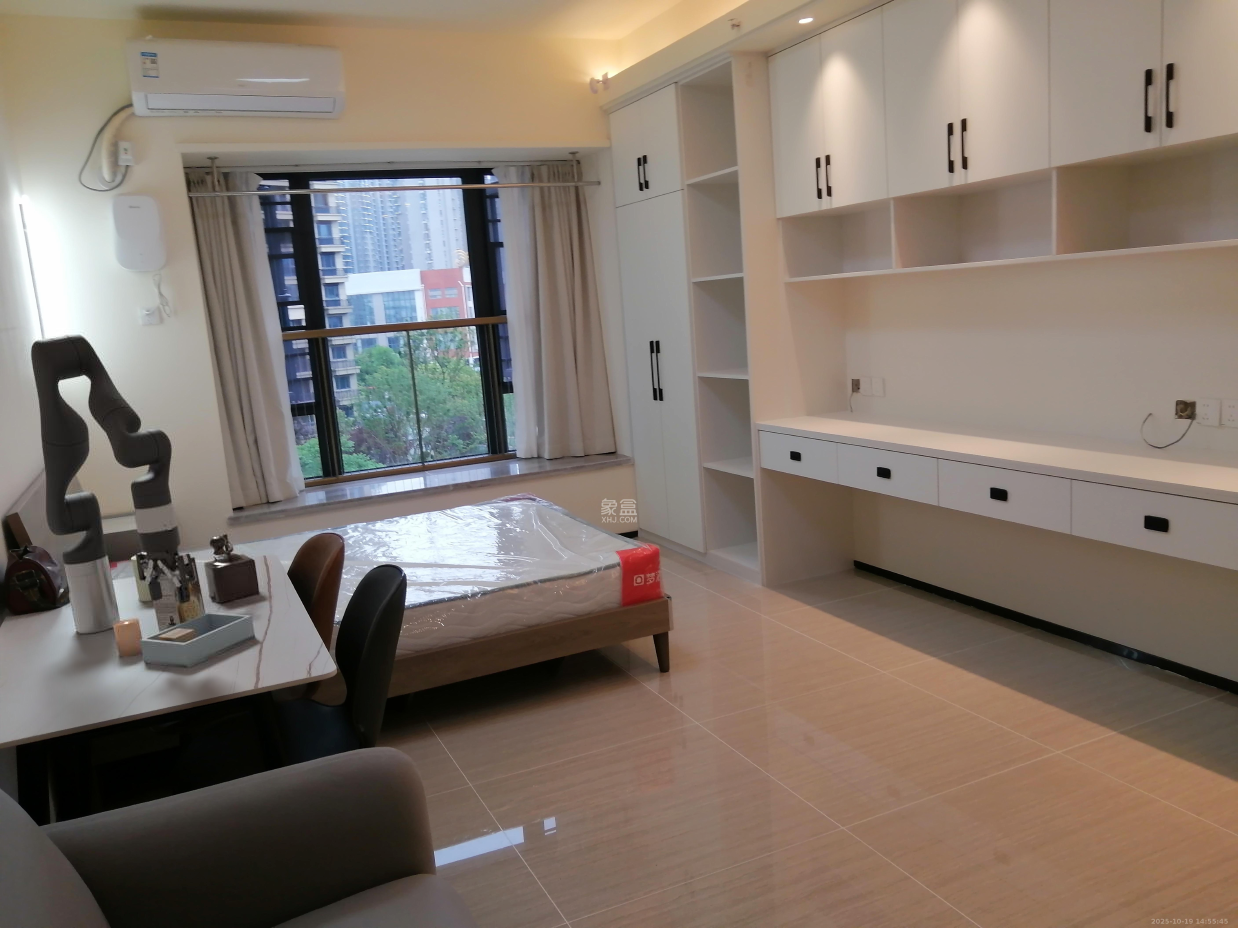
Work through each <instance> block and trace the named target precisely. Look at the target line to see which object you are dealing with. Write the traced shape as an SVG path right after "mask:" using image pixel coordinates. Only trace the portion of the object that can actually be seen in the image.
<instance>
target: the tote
mask: <svg viewBox="0 0 1238 928" xmlns="http://www.w3.org/2000/svg"><path fill="white" fill-rule="evenodd" d="M205 613H206V614H203V615H201V616H198V617H196V618H193V619H191V620H188V621H186V622H184V623H181V624H179V625H176V626H174V627H171V628H169V629H166V630H164V631H161V632H156V633H154V634H152V635H149V636H147V637H143V638H142V639H141V640H140V643H141V648H142V653H141V654H142V657H143V662H144V663H145V664H153V665H154V664H156V665H161V666H171V667H178V668H190V667H194V665H198V664H200V663H202V662H203V661H205V660H206V661H207V660H208V659H210V658H211V659H212V657H215V656H217V655H219V654H221V653H224V652H226V651H228V650H230V649H232V648H234V647H237V646H238V645H241V644H243V643H246V642H248V641H250V640H252V639H255V638H256V636H255V629H254V624H253V617H252V615H249V614H248V615H247V614H246V615H245V614H236V613H235V614H234V613H222V612H221V613H220V612H209V611H208V612H205ZM178 628H180V629H191V630H194V631H195V636H196V638H195V639H193V640H190V641H188V642H186V643H180V642H170V641H160V640H159V639H158V636H161V635H163V634H166V633H168V632H171V631H173V630H175V629H178Z"/></svg>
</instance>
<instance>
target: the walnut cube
mask: <svg viewBox="0 0 1238 928" xmlns="http://www.w3.org/2000/svg"><path fill="white" fill-rule="evenodd" d="M195 638H196V636H195V631H194V630H191V629H180V628H178V629H175V630H173V631H171V632H168V633H166V634H163V635H161V636H158V639H159V640H160V641H170V642H180V643H186V642H188V641H190V640H193V639H195Z"/></svg>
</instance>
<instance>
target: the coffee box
mask: <svg viewBox="0 0 1238 928" xmlns="http://www.w3.org/2000/svg"><path fill="white" fill-rule="evenodd" d="M190 557H191V561H192V566H193V570H194V575H195V581H192V582H190V583H189V584H188V586H189V592H190V601H189V602H186V603H184V604H182V603H179V599H178V594H177V588H176V587H178V586H177V585H176V584H175V582H174V581H173V580H172V579H169V578H168V576H167V575H163V574H161V576H160V578H159V582H160V585H161V590H162V596H163V597H162V599H159V600H157V601H152V602H153V607H154V610H155V611H154V612H155V617H156V621H157V627H158V631H159V632H161V631H164V630H166V629H169V628H171V627H174V626H176V625H179V624H181V623H184V622H186V621H188V620H191V619H193V618H196V617H198V616H201V615H203V614H206V613H207V612H206V609H205V605H204V599H203V598H204V597H203V595H202V587H201V584H200V578H199V574H198V568H197V564H196V563H197V562H196V557H195V556H193V557H192V556H190ZM176 571H179V570H178V569H176ZM176 571H175V572H176ZM186 575H187V577H189V575H188V571H187V572H186ZM178 578H179V579H180V580H181V577H180V576H178ZM159 632H158V633H159Z"/></svg>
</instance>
